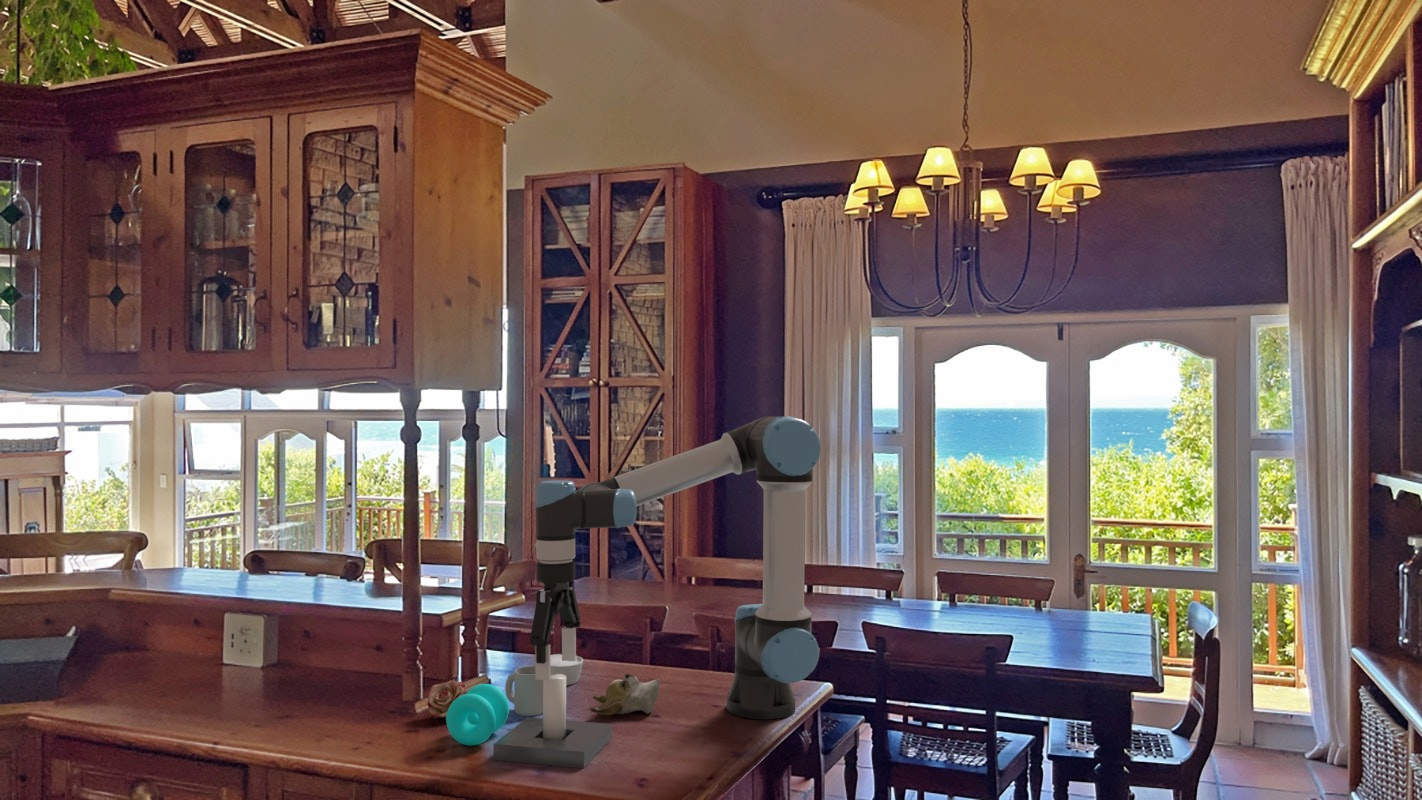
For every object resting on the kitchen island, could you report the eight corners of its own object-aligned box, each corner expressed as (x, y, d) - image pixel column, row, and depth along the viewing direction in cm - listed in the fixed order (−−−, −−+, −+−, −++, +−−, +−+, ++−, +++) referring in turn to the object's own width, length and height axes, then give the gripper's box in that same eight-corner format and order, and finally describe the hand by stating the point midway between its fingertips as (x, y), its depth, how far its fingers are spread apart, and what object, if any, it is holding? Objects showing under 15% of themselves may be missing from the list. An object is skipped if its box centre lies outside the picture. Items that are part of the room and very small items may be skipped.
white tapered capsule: (569, 746, 189) (569, 674, 189) (560, 754, 185) (561, 680, 185) (547, 744, 190) (548, 673, 190) (539, 752, 186) (539, 679, 186)
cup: (537, 718, 206) (537, 676, 206) (496, 712, 210) (496, 671, 210) (553, 708, 213) (554, 667, 213) (514, 703, 216) (514, 663, 217)
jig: (611, 739, 194) (611, 724, 194) (584, 768, 178) (584, 751, 178) (527, 732, 197) (527, 717, 197) (493, 759, 182) (493, 743, 182)
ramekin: (585, 686, 230) (585, 664, 230) (537, 689, 227) (537, 667, 227) (580, 674, 241) (580, 652, 241) (535, 676, 238) (535, 655, 238)
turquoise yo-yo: (443, 746, 189) (443, 694, 189) (464, 729, 199) (465, 680, 199) (491, 749, 188) (492, 697, 188) (511, 732, 197) (511, 683, 197)
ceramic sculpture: (659, 678, 206) (588, 683, 205) (661, 719, 206) (590, 724, 205) (659, 665, 216) (591, 670, 215) (661, 704, 216) (593, 709, 215)
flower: (434, 701, 212) (424, 680, 207) (473, 693, 212) (464, 671, 208) (432, 736, 204) (422, 714, 200) (472, 727, 205) (463, 705, 201)
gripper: (561, 550, 201) (561, 652, 201) (511, 570, 177) (511, 687, 176) (595, 551, 199) (596, 654, 199) (549, 572, 175) (550, 689, 175)
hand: (556, 669), depth 188 cm, fingers open, 13 cm apart
